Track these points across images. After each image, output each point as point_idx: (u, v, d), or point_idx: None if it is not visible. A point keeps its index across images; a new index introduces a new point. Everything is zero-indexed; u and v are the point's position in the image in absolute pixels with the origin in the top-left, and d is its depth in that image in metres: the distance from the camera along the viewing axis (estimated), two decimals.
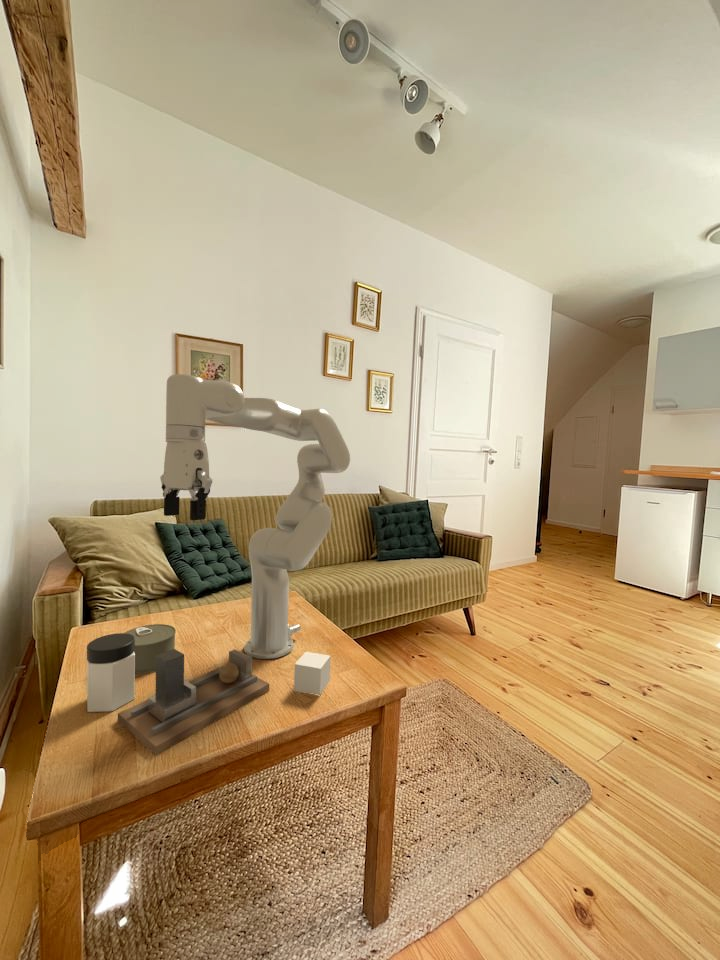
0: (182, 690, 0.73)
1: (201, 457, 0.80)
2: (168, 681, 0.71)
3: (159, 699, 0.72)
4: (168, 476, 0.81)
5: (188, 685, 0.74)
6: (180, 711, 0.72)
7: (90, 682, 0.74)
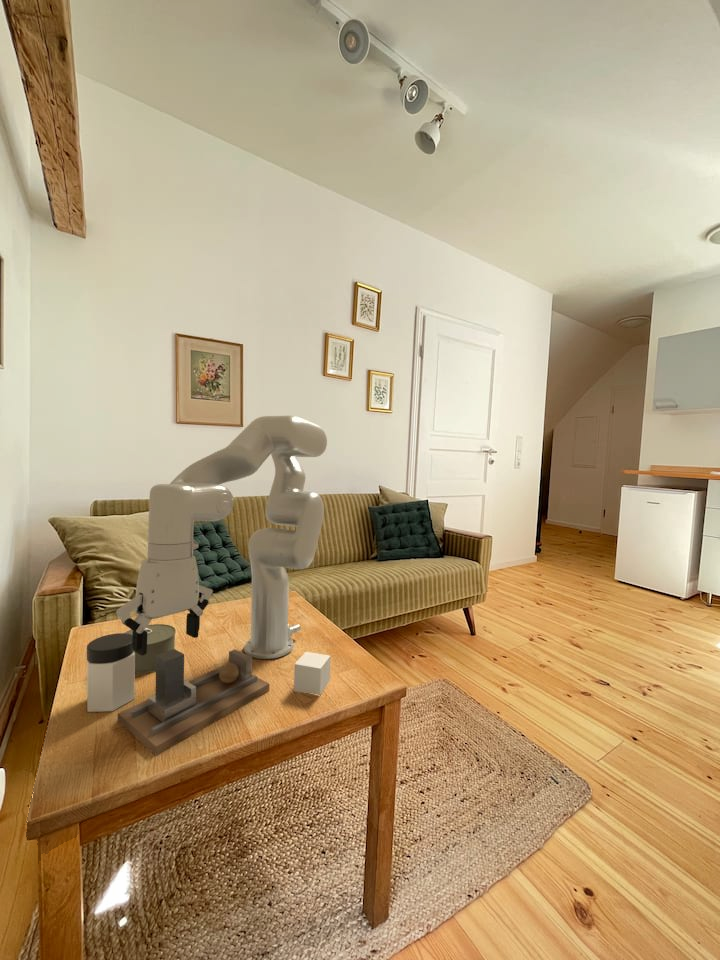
0: (182, 690, 0.73)
1: None
2: (168, 681, 0.71)
3: (159, 699, 0.72)
4: (163, 602, 0.69)
5: (188, 685, 0.74)
6: (180, 711, 0.72)
7: (90, 682, 0.74)
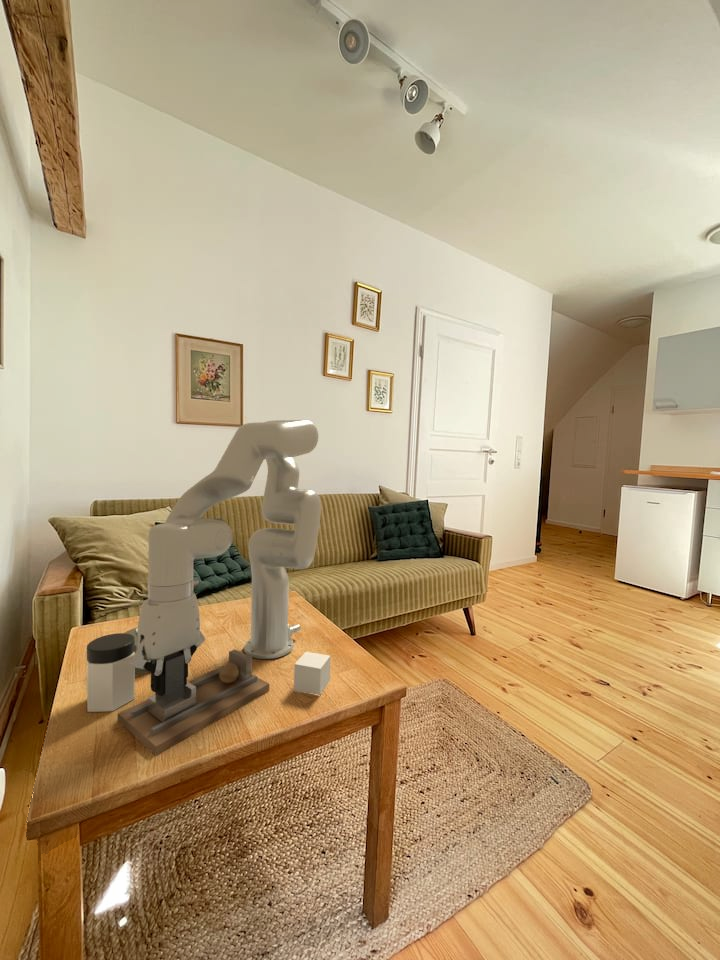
0: (182, 690, 0.73)
1: None
2: (168, 681, 0.71)
3: (159, 699, 0.72)
4: (164, 643, 0.69)
5: (188, 685, 0.74)
6: (180, 711, 0.72)
7: (90, 682, 0.74)
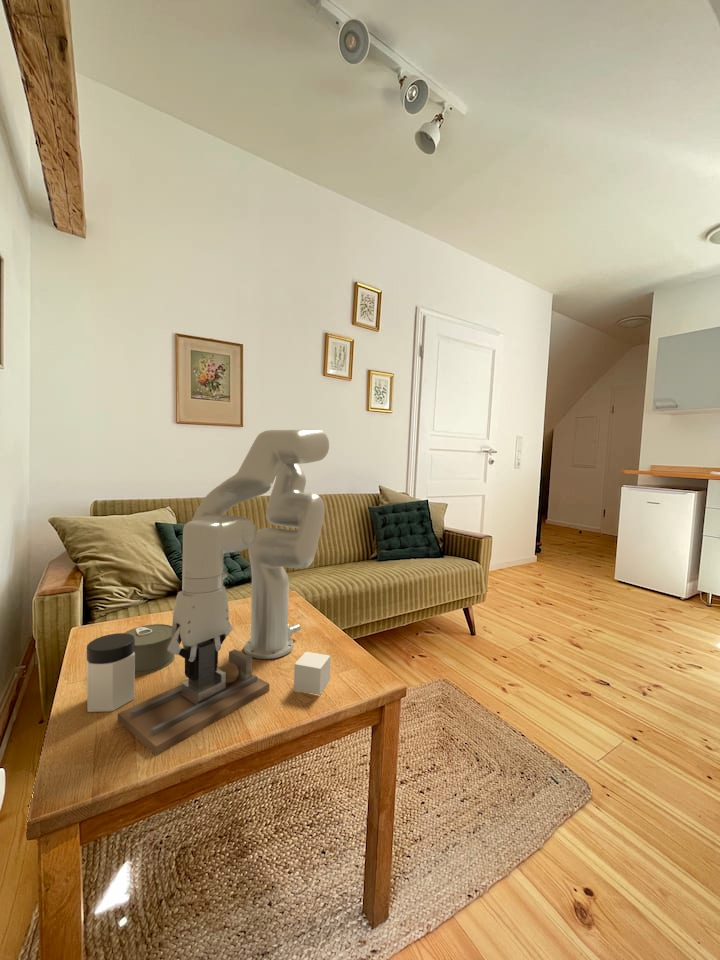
0: (213, 676, 0.78)
1: None
2: (201, 667, 0.76)
3: (192, 683, 0.77)
4: (198, 631, 0.75)
5: (218, 671, 0.80)
6: (212, 695, 0.77)
7: (90, 682, 0.74)
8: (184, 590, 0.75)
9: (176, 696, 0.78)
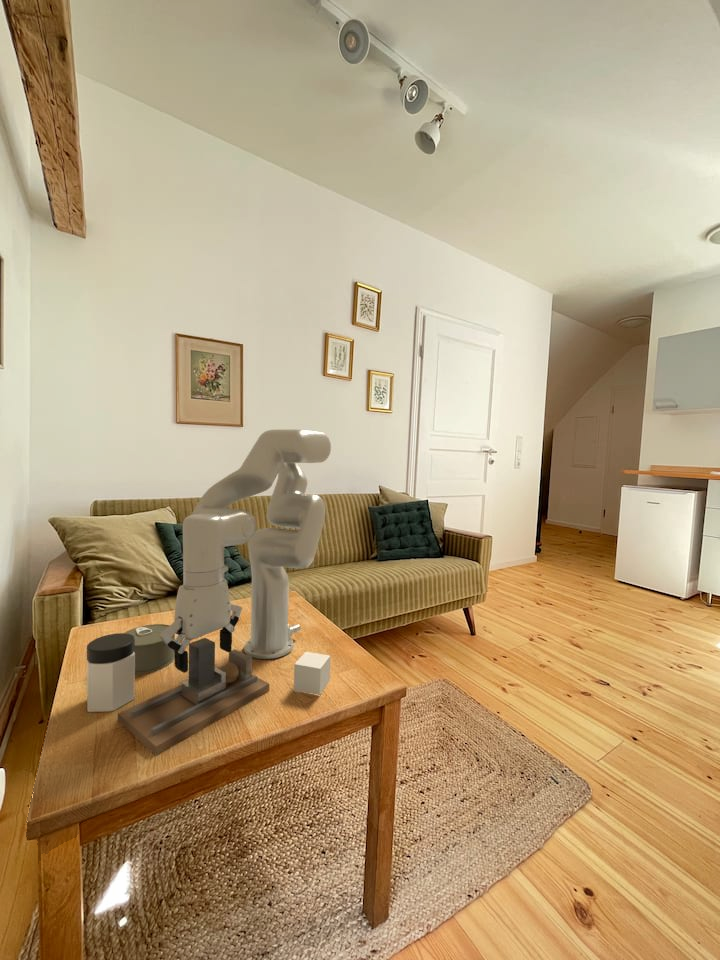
0: (213, 676, 0.78)
1: None
2: (201, 667, 0.76)
3: (192, 683, 0.77)
4: (200, 624, 0.75)
5: (218, 671, 0.80)
6: (212, 695, 0.77)
7: (90, 682, 0.74)
8: (185, 584, 0.75)
9: (176, 696, 0.78)
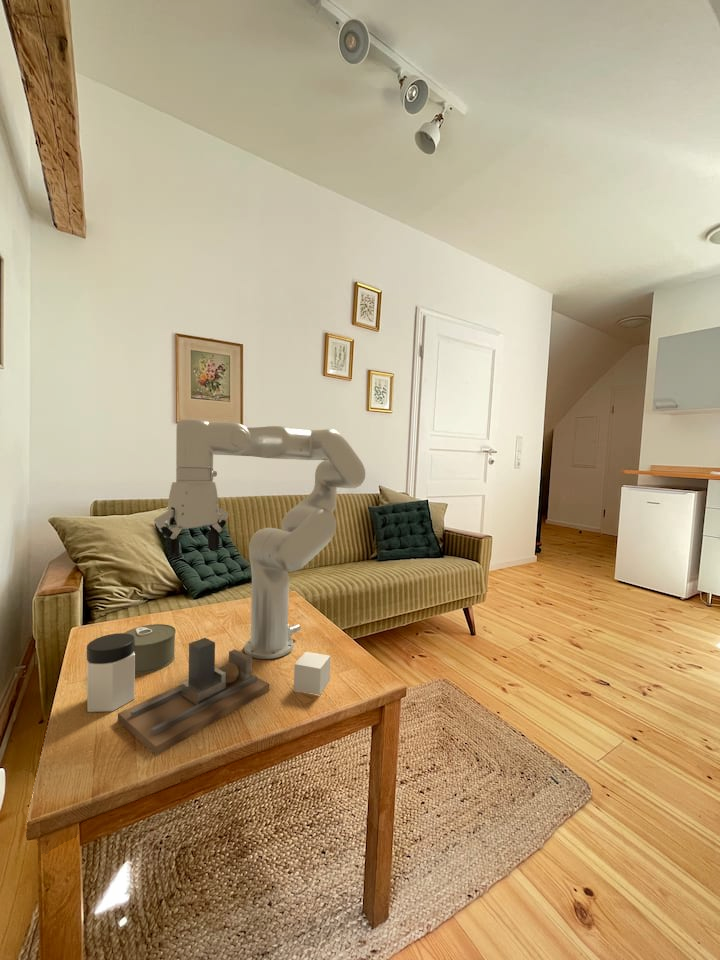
0: (213, 676, 0.78)
1: None
2: (201, 667, 0.76)
3: (192, 683, 0.77)
4: (191, 515, 0.84)
5: (218, 671, 0.80)
6: (212, 695, 0.77)
7: (90, 682, 0.74)
8: (178, 479, 0.84)
9: (176, 696, 0.78)
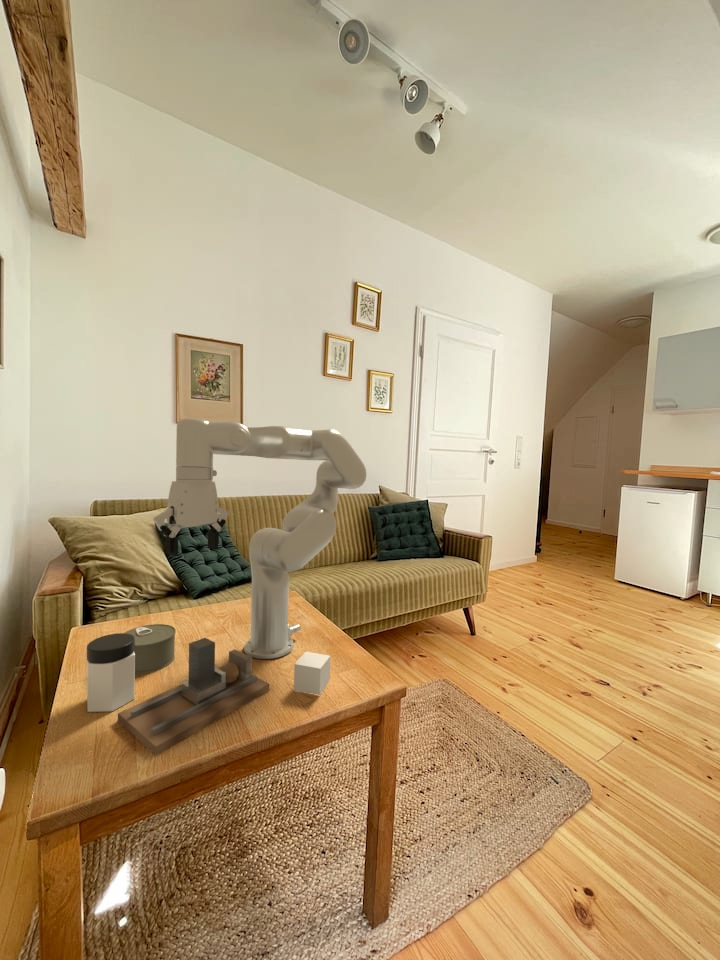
0: (213, 676, 0.78)
1: None
2: (201, 667, 0.76)
3: (192, 683, 0.77)
4: (190, 514, 0.84)
5: (218, 671, 0.80)
6: (212, 695, 0.77)
7: (90, 682, 0.74)
8: (177, 478, 0.84)
9: (176, 696, 0.78)
